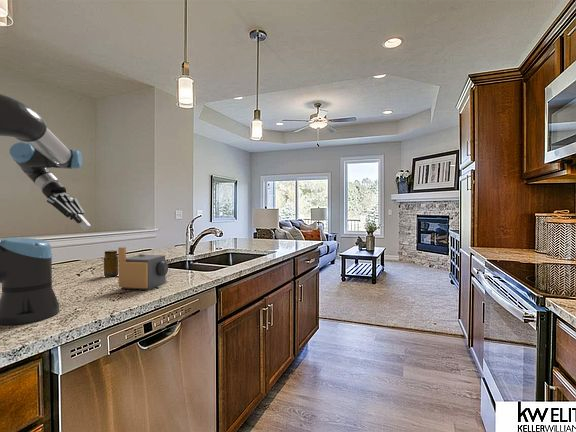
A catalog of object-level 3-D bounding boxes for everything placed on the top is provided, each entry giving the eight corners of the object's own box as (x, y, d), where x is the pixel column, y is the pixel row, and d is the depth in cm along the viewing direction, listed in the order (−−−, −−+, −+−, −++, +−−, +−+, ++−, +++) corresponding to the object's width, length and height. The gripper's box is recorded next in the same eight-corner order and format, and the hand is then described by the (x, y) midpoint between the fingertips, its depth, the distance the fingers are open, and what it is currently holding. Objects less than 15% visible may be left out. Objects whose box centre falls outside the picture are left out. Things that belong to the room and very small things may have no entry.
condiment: (106, 274, 155) (105, 250, 155) (125, 274, 157) (124, 249, 156) (100, 277, 148) (100, 252, 148) (120, 277, 149) (119, 251, 149)
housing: (153, 290, 125) (152, 257, 125) (121, 288, 128) (121, 257, 127) (169, 283, 137) (169, 253, 137) (140, 281, 140) (140, 252, 139)
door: (146, 288, 124) (145, 248, 124) (118, 287, 126) (118, 247, 126) (148, 287, 125) (147, 247, 125) (120, 286, 127) (120, 247, 127)
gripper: (59, 194, 138) (94, 232, 136) (30, 192, 125) (68, 235, 123) (70, 181, 137) (105, 220, 135) (41, 179, 124) (80, 222, 122)
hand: (87, 227), depth 129 cm, fingers closed
